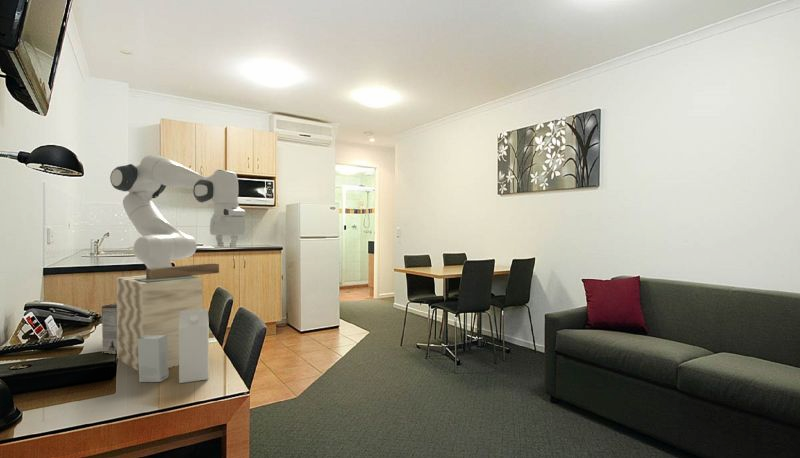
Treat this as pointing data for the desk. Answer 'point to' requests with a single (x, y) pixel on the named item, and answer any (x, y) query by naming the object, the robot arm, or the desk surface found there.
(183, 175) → the robot arm
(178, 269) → the walnut bar
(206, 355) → the milk carton
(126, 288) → the birch stand
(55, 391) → the desk surface
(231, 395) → the desk surface
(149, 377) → the skincare box
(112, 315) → the coffee box
